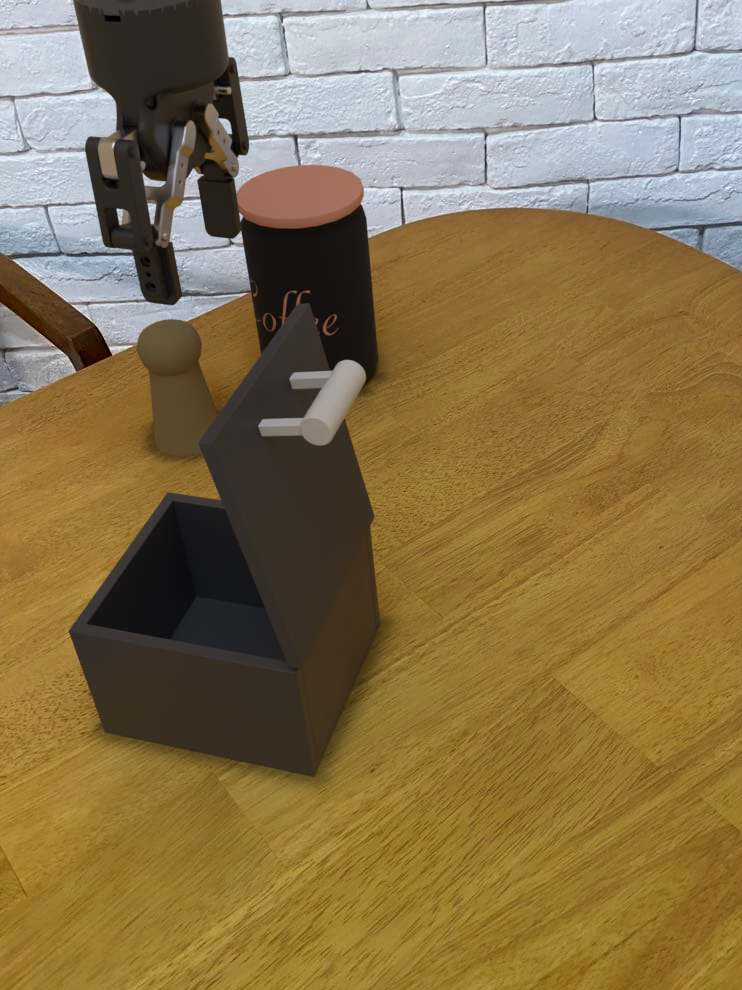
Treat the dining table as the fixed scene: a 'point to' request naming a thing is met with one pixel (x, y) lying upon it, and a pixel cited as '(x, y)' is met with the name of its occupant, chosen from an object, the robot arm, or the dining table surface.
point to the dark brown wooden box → (217, 646)
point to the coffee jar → (311, 257)
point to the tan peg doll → (176, 386)
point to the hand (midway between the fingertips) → (195, 267)
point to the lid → (292, 479)
